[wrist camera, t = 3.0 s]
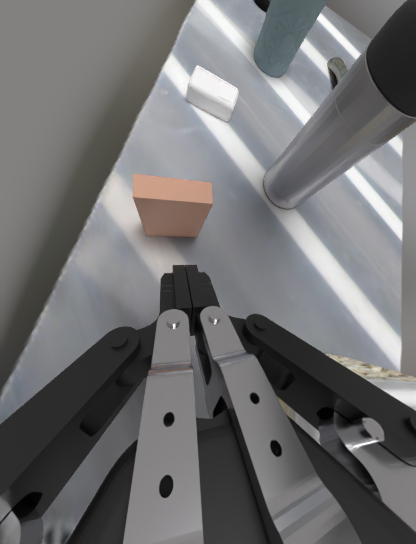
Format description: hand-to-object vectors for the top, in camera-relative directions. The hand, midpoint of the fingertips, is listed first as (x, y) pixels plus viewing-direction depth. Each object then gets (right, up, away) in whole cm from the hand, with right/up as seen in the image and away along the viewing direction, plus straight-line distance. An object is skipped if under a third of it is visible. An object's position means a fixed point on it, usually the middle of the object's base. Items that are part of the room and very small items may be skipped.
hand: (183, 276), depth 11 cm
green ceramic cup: (+16, +50, +28) cm, 59 cm away
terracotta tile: (-4, +7, +16) cm, 18 cm away
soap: (+2, +34, +22) cm, 41 cm away
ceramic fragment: (+35, +50, +33) cm, 70 cm away
